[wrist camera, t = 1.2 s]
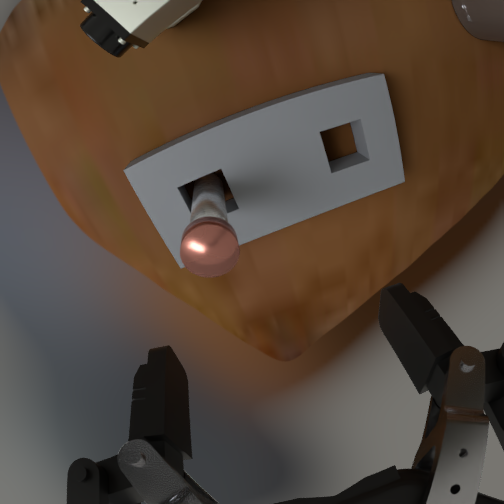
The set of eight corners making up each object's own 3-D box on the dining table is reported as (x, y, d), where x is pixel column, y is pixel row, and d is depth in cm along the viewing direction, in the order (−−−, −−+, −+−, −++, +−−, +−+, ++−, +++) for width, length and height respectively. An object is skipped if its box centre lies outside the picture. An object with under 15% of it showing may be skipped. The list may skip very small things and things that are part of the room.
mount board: (369, 72, 26) (383, 74, 23) (391, 172, 32) (404, 181, 30) (130, 161, 28) (123, 170, 26) (182, 253, 35) (180, 268, 32)
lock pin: (218, 162, 30) (225, 217, 19) (233, 195, 32) (248, 265, 21) (182, 178, 30) (169, 241, 20) (198, 210, 32) (196, 284, 22)
